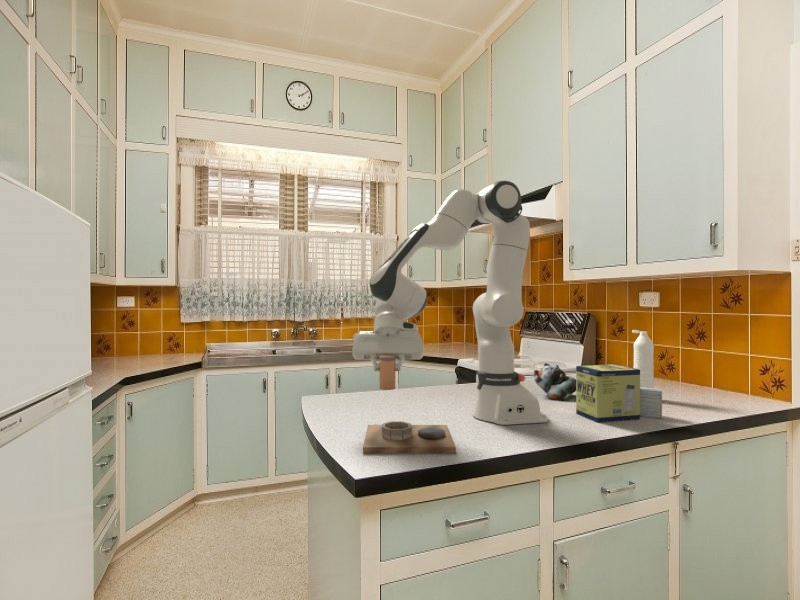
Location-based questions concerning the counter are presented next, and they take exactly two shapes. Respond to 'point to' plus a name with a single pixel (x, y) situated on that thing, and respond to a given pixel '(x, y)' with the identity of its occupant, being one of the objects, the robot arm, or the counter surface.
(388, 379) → the hub peg
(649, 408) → the medicine box
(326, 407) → the counter surface
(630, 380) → the protein box
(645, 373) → the white pump bottle
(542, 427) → the counter surface
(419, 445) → the carrier board
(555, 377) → the grey stuffed animal toy
